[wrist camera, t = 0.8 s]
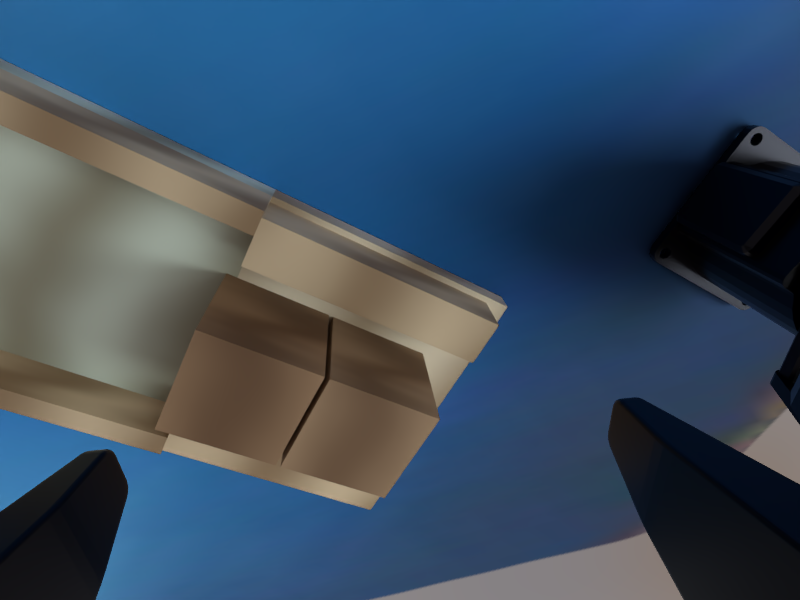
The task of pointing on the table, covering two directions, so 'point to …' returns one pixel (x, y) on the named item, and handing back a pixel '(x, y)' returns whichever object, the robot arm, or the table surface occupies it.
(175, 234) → the slot board
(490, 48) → the table surface
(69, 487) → the robot arm
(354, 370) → the brown cube
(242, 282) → the brown wooden cube
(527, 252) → the table surface
